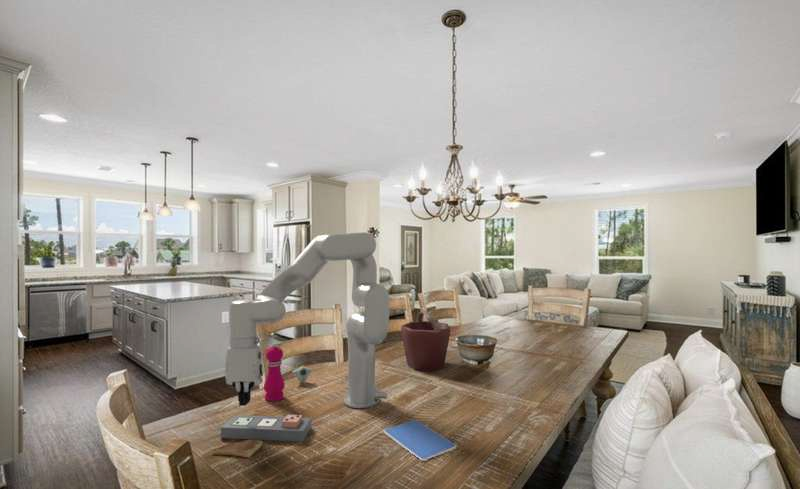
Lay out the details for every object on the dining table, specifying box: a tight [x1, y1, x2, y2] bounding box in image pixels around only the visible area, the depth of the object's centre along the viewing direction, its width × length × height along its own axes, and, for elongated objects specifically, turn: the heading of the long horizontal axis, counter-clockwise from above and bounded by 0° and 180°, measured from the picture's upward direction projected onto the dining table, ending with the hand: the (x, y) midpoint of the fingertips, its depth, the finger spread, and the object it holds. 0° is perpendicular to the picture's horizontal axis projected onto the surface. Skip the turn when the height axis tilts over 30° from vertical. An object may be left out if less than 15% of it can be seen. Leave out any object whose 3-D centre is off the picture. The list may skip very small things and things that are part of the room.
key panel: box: [220, 414, 313, 443], centre depth 111 cm, size 24×8×3 cm, turn 86°
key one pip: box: [257, 419, 278, 427], centre depth 111 cm, size 4×4×2 cm
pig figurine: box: [291, 365, 312, 384], centre depth 152 cm, size 8×4×7 cm, turn 117°
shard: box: [211, 439, 263, 458], centre depth 102 cm, size 11×8×2 cm
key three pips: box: [282, 414, 303, 428], centre depth 110 cm, size 4×4×2 cm
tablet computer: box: [382, 419, 458, 461], centre depth 107 cm, size 19×13×1 cm, turn 35°
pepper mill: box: [263, 342, 286, 402], centre depth 136 cm, size 7×7×20 cm
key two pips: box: [232, 418, 253, 426], centre depth 111 cm, size 4×4×2 cm
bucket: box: [400, 310, 451, 373], centre depth 175 cm, size 24×22×25 cm
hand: (244, 403), depth 112 cm, fingers closed
